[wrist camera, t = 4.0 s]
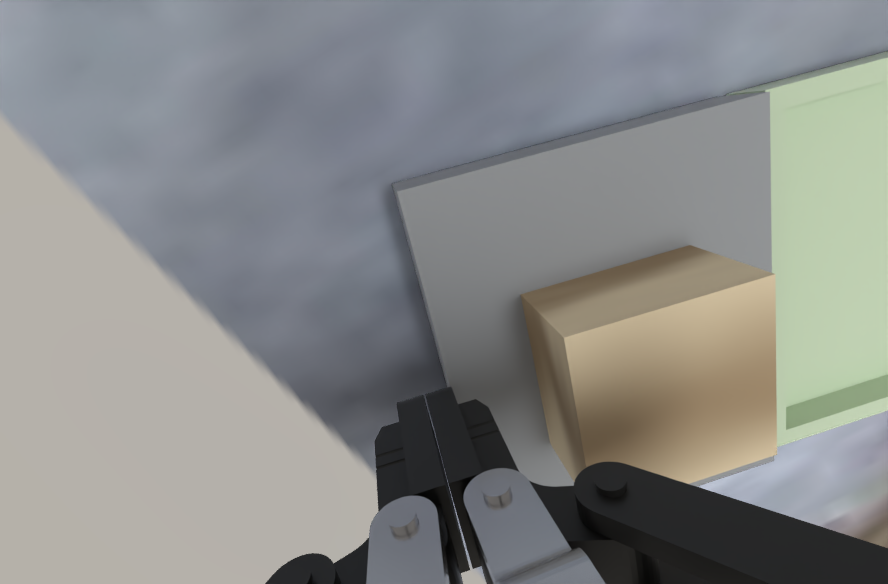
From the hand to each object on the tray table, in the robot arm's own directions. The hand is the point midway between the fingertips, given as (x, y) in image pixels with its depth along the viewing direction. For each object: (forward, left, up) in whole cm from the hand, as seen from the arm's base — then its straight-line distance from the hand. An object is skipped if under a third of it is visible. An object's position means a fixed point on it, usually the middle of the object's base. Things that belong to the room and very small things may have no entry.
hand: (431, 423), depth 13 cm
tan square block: (0, +6, -1) cm, 6 cm away
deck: (0, +6, -3) cm, 7 cm away
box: (0, +16, -3) cm, 16 cm away
